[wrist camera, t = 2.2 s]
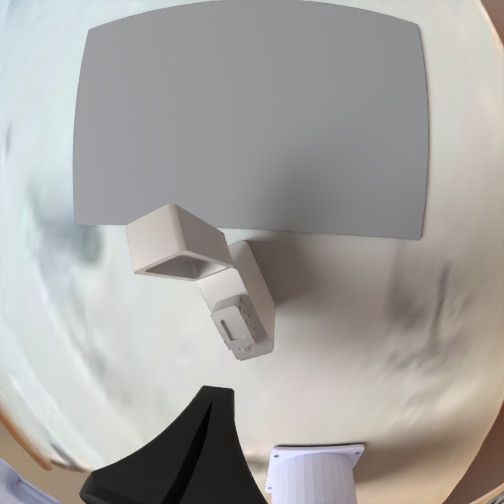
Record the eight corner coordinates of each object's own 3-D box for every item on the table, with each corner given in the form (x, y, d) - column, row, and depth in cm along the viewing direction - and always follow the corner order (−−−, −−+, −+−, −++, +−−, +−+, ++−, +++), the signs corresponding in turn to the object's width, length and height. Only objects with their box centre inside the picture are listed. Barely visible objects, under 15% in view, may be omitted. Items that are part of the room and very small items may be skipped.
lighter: (275, 306, 16) (272, 414, 8) (247, 316, 16) (225, 424, 8) (223, 185, 14) (163, 204, 6) (193, 199, 14) (110, 232, 7)
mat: (417, 238, 14) (420, 240, 14) (78, 223, 15) (75, 224, 15) (414, 26, 10) (417, 24, 10) (92, 31, 12) (88, 29, 11)
